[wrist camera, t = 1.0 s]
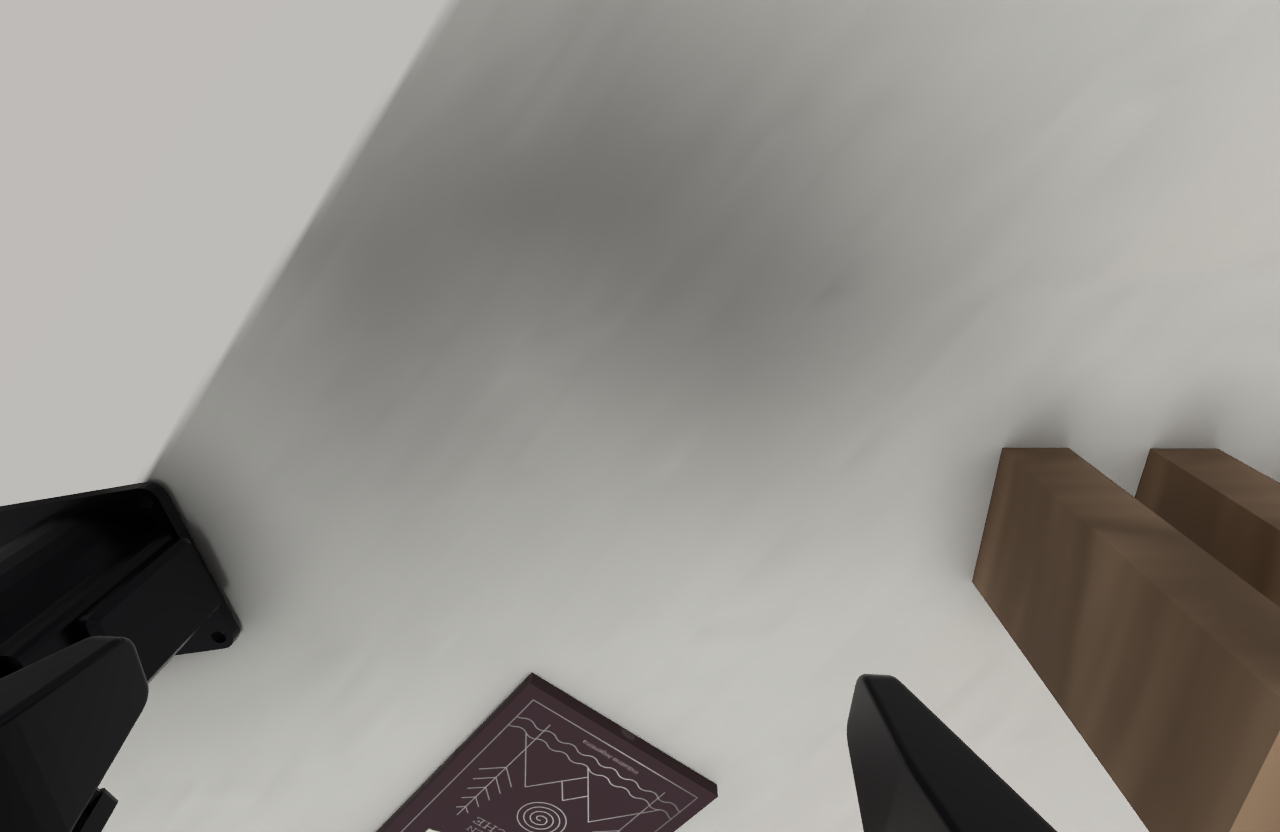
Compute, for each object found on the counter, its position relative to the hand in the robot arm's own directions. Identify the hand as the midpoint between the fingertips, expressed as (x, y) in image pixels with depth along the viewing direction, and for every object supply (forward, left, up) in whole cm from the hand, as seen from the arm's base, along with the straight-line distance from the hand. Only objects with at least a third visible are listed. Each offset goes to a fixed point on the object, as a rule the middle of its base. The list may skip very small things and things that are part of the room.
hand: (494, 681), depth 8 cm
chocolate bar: (-9, -21, -13) cm, 26 cm away
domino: (+12, -8, -12) cm, 19 cm away
